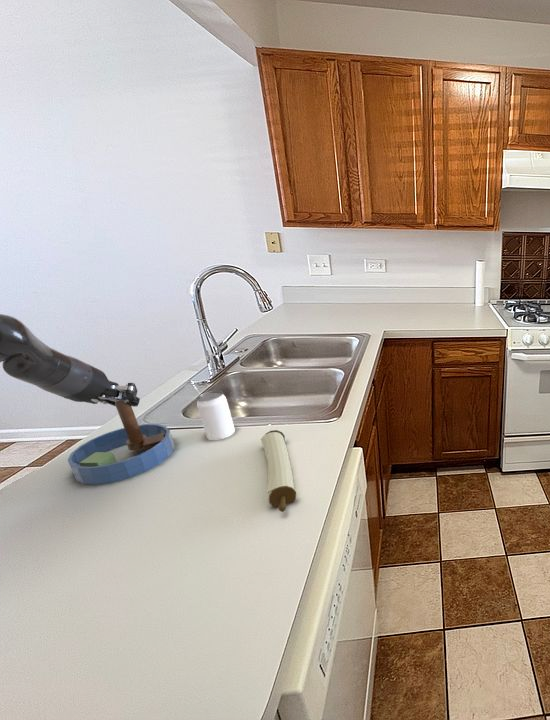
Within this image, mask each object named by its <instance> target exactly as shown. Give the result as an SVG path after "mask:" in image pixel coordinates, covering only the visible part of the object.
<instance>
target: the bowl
mask: <svg viewBox="0 0 550 720" xmlns="http://www.w3.org/2000/svg"><path fill="white" fill-rule="evenodd" d="M138 425H139V428H140V430H141V433H142V435H146V436H147V437H150V436H154V435H158V434H162V433H164V435H165V437H164V438H163V440H162V441H161V442H160V443H158V444H157V445H155V446H154V447H153V448H151V449H149V450H147V451H145V450H144V451H143V452H141V453H140V454H137V455H134V456H132V457H129V458H126V459H124V460H120V461H117V462H116V463H112V464H108V465H101V466H94V467H84V466H81V465H80V462H81V461H83V460H85V459H86V458H88V457H89V456H91V455H92V454H94V453H95V452H110V451H111V450H114V449H116V448H120V447H122V446H126V445H127V444H126V441H127V440H128V436H127V434H126V431H125V429H124V427H121V428H118V429H115V430H112V431H109V432H106V433H103V434H101V435H98V436H96V437H94V438H91V439H90V440H87V441H86V442H84V443H82V444H81V445H79V446H78V447H77V448H76V449H75V450H73V451H72V452H71V453H70V454H69V457H68V458H67V462H68V465H69V467H70V469H71V471H72V473H73V474H72V475H74V479H75V480H76V482H78V483H81V484H83V485H89V486H90V485H92V486H93V485H94V486H98V485H105V484H106V485H107V484H112V483H116V482H120V481H124V480H127V479H130V478H131V479H132V478H133V477H135V476H138V475H140V474H143V473H146V472H147V471H149V470H151V469H153V468H155V467H157V466H159V465H160V464H162V463H163V462H164V461H165V460H167V459H168V458H169V457H170V456H171V454H172V453H173V452H174V451H175V442H174V439H173V437H172V434H171V431H170V429H169V428H168V427H167V426H166V425H162V424H159V423H144V424H138Z"/></svg>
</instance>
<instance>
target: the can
mask: <svg viewBox="0 0 550 720" xmlns="http://www.w3.org/2000/svg"><path fill="white" fill-rule="evenodd" d="M196 400H197V402H196V407H197V410H198V414H199V417H200V420H201V424H202V427H203V430H204V433H205V436H206V438H207V439H208V440H209V441H219V440H225V439H227V438H229V437H231V436H232V435H233V434H235V431H236V428H235V425H234V420H233V418H232V417H233V416H232V413H231V410H230V406H229V403H228V399H227V397H226V395H225V394H224V392H223V391H221V390H211V391H207V392H203V393H201V394H199V395H198V396H197V397H196Z"/></svg>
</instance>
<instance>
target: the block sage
mask: <svg viewBox="0 0 550 720" xmlns="http://www.w3.org/2000/svg"><path fill="white" fill-rule="evenodd" d="M116 462H118V461H117V459H116V456H115V454H114V452H113V451H107V452H95V453H94V454H92V455H91V456H89V457H88V458H86V459H85V460H83V461H81V462H80V465H81V466H84V467H94V466H101V465H108V464H112V463H116Z"/></svg>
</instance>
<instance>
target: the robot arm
mask: <svg viewBox="0 0 550 720" xmlns="http://www.w3.org/2000/svg"><path fill="white" fill-rule="evenodd" d="M0 363H2V369H3V371H4V372H5V373H6V374H7V375H8V376H10V377H12V378H14V379H16V380H19V381H21V382H24V383H27V384H30V385H32V386H35V387H37V388H39V389H41V390H43V391H44V392H48V393H51V394H53V395H56V396H59V397H61V398H64V399H65V400H69V401H73V402H76V403H78V402H79V403H87V404H93V405H98V403H100V404H103V405H109V406H112V407H116V406H115V403H114V402H115V401H121V402H124V403H126V404H128V405H131V406H132V408H134V407H138V406H139V405H140V400H141V398H140V397H138V396H137V395H138V389H137V388H138V387H137V385H136V383H135V382H128V383H127V384H125V385H120V384H119V383H118V382H115V381H111V380H109V379H108V377H107V375H106V374H105V372H104V371H103V370H101V369H99V368H97V367H95V366H93V365H90V364H89V363H87V362H85V361H83V360H81V359H78V358H76V357H74V356H70V355H67V354H65V353H63V352H61V351H58V350H56V349H55V348H52V347H50V346H49V345H48V344H46V343H45V342H43V341H42V340H41V339H40V338H38V337H37V336H36V335H35V334H34V333H33V332H32V331H31V330H30V329H29V327H28V326H27V325H26V324H25V323H23V321H22V320H20V319H18V318H16V317H15V316H11V315H9V314H3V313H0ZM122 393H123V398H122Z"/></svg>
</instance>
